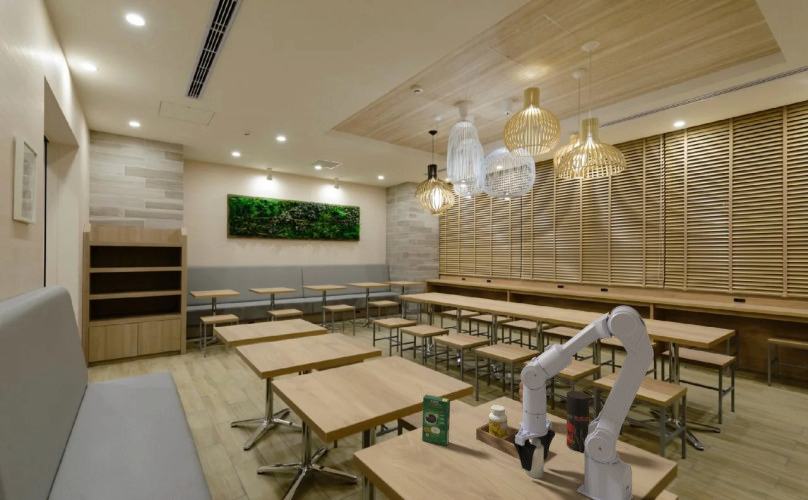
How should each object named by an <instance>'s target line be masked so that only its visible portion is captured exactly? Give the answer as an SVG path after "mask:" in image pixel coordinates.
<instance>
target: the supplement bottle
mask: <svg viewBox="0 0 808 500" xmlns="http://www.w3.org/2000/svg"><path fill="white" fill-rule="evenodd" d="M488 423H489V433H490V434H492V435H494V436H497V437H499V438H503V437H504V436H506V435H507V425H508V416H507V415H506V407H504V406H502V405H499V404H494V405H491V407H490V413H489V415H488Z"/></svg>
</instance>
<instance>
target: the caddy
mask: <svg viewBox="0 0 808 500" xmlns="http://www.w3.org/2000/svg"><path fill="white" fill-rule="evenodd" d="M519 430H520V429H519V428H516V427H514V426H512V425H510V424H507V435H506V436H504V437H503V438H499V437H497V436H494V435H492V434H490V433H489V422H488V423H486V424H483V425H481V426H480V427H478V428H476V429H475V434H476V435H475V436H476V437H475V438H476V440H477V441H480V442H481V443H484V444H486V445H488V446H490V447H492V448H495V449H497V450H499V451H501V452H503V453H505V454H507V455H510V456H512V457H513V458H516V459H518V460H520V457H519V454H518V451H517V449H516V447H515V446H514V444H513V438H515V435H517V434H518V432H519Z"/></svg>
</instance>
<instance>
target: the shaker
mask: <svg viewBox="0 0 808 500" xmlns="http://www.w3.org/2000/svg"><path fill="white" fill-rule="evenodd" d="M529 442H531V444H533V445H535V446H537V447H536V449H535V451H534V454H533V459H532V468H531V471H527V470H525V469H524V471H525V474H526V475H527V476H528V477H529V478H533V479H542V478H543V477H544V472H545V470H544V469H545V468H544V467H545V466H544V465H545V464H544V461H545V460H544V447H543V445H542V444H541V440H540V439H539V438H536V437H535V438H531V439H529Z"/></svg>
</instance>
